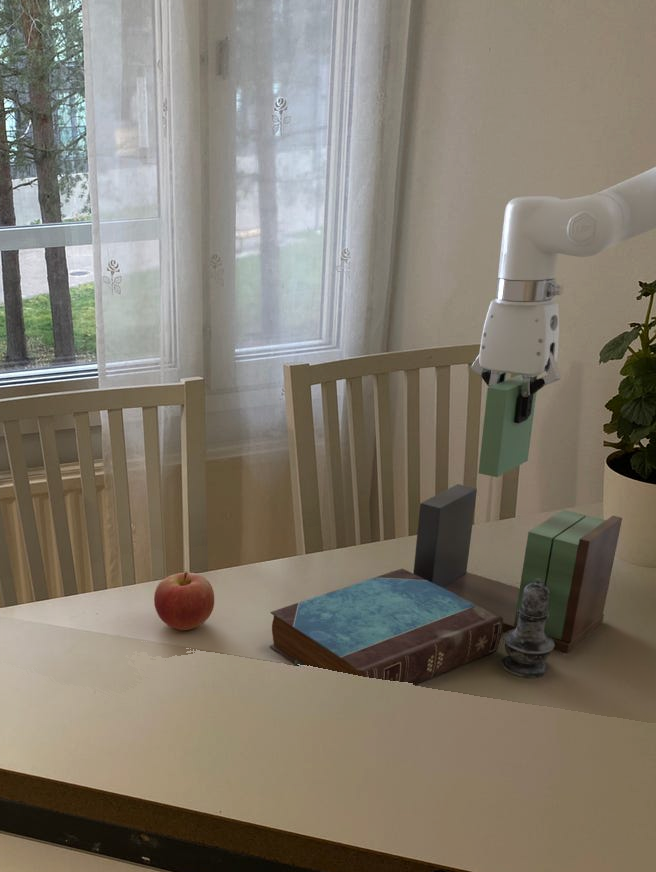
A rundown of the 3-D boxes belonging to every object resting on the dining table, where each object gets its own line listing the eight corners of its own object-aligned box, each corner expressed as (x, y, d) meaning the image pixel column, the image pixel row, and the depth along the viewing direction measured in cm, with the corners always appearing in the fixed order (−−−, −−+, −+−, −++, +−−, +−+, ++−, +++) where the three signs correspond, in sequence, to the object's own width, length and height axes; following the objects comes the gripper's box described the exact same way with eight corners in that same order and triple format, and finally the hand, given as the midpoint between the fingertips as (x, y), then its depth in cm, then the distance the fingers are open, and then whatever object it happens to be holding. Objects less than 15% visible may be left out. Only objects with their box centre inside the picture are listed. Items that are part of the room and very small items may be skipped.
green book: (509, 457, 143) (519, 374, 138) (527, 461, 141) (538, 377, 136) (478, 473, 137) (487, 387, 131) (496, 477, 135) (507, 390, 129)
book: (362, 709, 103) (365, 672, 101) (267, 645, 117) (268, 611, 115) (499, 652, 114) (504, 617, 112) (397, 599, 127) (400, 567, 125)
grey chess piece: (528, 650, 114) (543, 563, 109) (560, 673, 109) (577, 583, 104) (488, 658, 112) (501, 571, 107) (519, 682, 107) (534, 591, 102)
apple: (225, 631, 120) (225, 577, 117) (169, 644, 118) (167, 588, 114) (200, 606, 127) (199, 554, 124) (147, 617, 124) (145, 564, 121)
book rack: (439, 570, 136) (450, 475, 129) (602, 622, 120) (624, 516, 114) (399, 595, 129) (408, 495, 122) (567, 653, 113) (587, 542, 107)
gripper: (594, 292, 125) (574, 422, 133) (483, 284, 136) (470, 405, 143) (570, 299, 120) (551, 434, 128) (457, 290, 131) (446, 416, 139)
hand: (509, 418), depth 136 cm, fingers closed on green book, 3 cm apart
